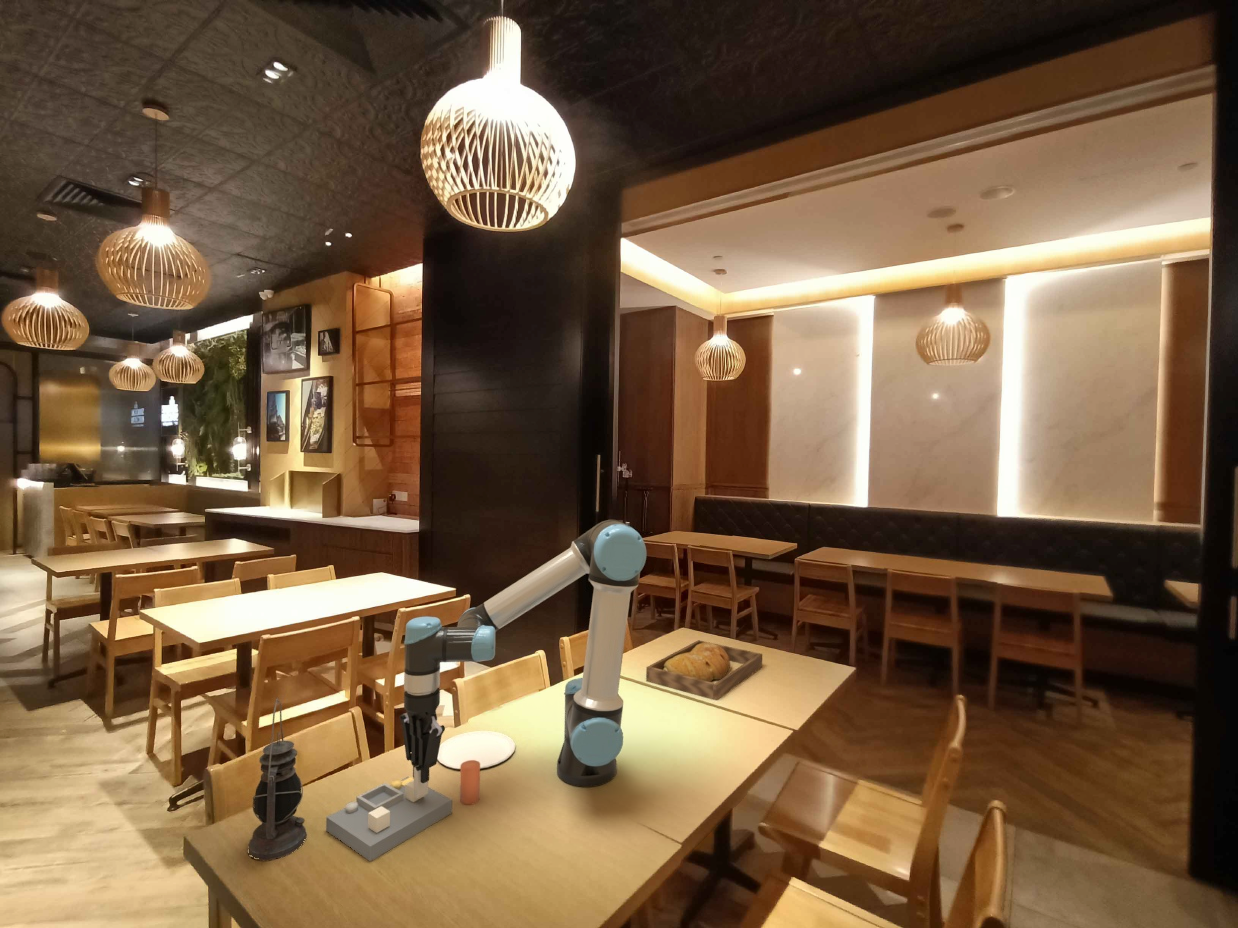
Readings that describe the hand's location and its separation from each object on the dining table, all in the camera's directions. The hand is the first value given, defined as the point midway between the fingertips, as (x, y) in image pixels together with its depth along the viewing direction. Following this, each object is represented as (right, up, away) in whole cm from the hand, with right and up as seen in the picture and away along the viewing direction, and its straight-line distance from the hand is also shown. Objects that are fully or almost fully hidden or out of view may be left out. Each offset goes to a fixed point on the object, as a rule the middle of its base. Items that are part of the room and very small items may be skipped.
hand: (420, 794), depth 134 cm
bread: (+75, -5, +91) cm, 117 cm away
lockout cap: (+9, -5, +7) cm, 12 cm away
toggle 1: (-5, -2, -9) cm, 11 cm away
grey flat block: (-6, -4, -3) cm, 8 cm away
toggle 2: (-2, -1, +1) cm, 3 cm away
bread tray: (+76, -4, +89) cm, 117 cm away
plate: (+5, -5, +29) cm, 30 cm away
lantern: (-26, -5, -10) cm, 28 cm away
